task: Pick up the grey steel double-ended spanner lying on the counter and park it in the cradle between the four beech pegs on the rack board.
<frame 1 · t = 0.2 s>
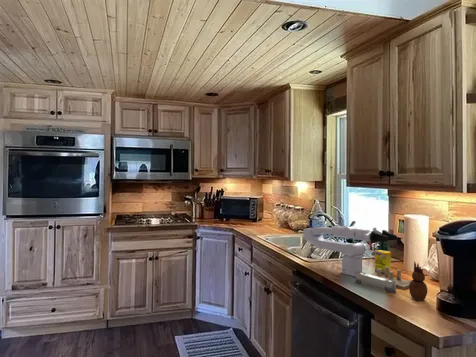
hand: (392, 238, 161), 21 cm above the worktop, tool horizontal, fingers open, 7 cm apart
rack: (388, 281, 165), on the worktop
spanner: (374, 286, 157), on the worktop
wooden figurine: (417, 299, 142), on the worktop
supplement box: (382, 272, 182), on the worktop
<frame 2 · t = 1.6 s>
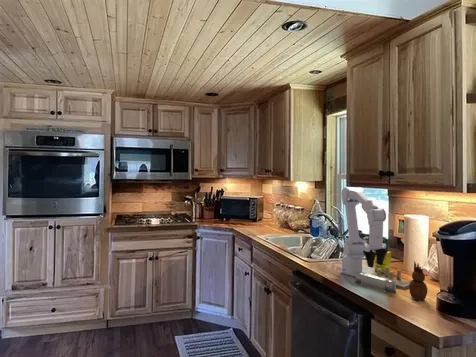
hand: (375, 265, 157), 9 cm above the worktop, tool pointing down, fingers open, 7 cm apart
nothing on the worktop moved.
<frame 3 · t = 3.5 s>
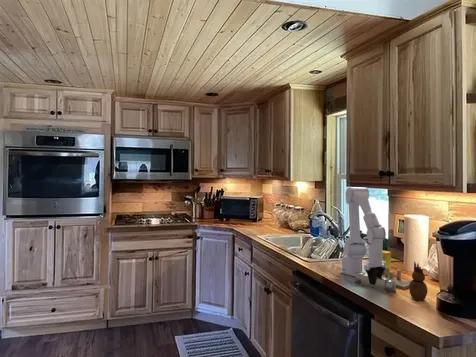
hand: (374, 283, 157), 1 cm above the worktop, tool pointing down, fingers closed on spanner, 3 cm apart
spanner: (374, 286, 157), on the worktop, touching gripper
everything else where it was.
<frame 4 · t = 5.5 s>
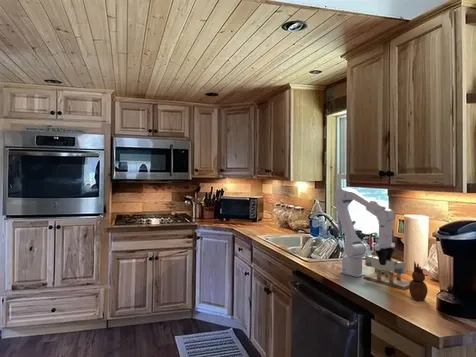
hand: (384, 264, 163), 9 cm above the worktop, tool pointing down, fingers closed on spanner, 3 cm apart
spanner: (384, 268, 163), point 7 cm above the worktop, touching gripper
everything else where it was.
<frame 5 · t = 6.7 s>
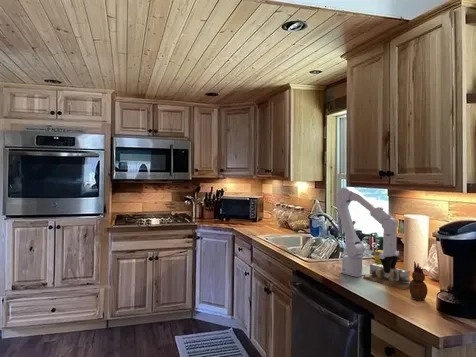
hand: (389, 272, 165), 4 cm above the worktop, tool pointing down, fingers closed on spanner, 3 cm apart
spanner: (388, 277, 165), point 2 cm above the worktop, touching gripper
everything else where it was.
when the fingers open (4 cm above the worktop, at t = 7.6 s): spanner stays where it is, resting on rack.
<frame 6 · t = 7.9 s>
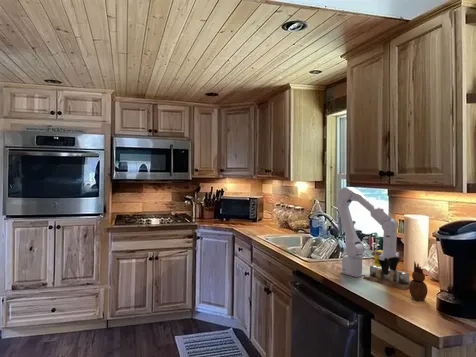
hand: (388, 273, 165), 4 cm above the worktop, tool pointing down, fingers open, 6 cm apart
spanner: (388, 279, 165), point 1 cm above the worktop, touching rack
everything else where it was.
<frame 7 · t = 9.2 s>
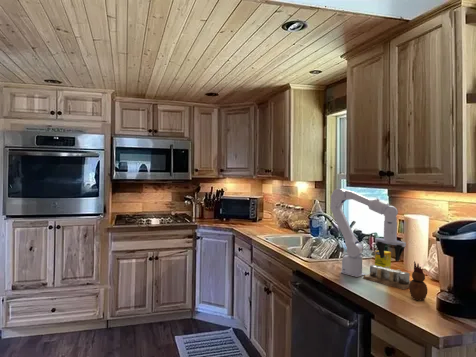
hand: (389, 259, 168), 10 cm above the worktop, tool pointing down, fingers open, 7 cm apart
nothing on the worktop moved.
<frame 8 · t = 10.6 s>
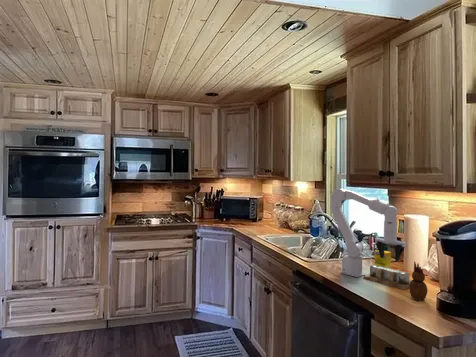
hand: (389, 259, 168), 10 cm above the worktop, tool pointing down, fingers open, 7 cm apart
nothing on the worktop moved.
at the end: spanner 0.0 cm off-centre on the rack, point 1.2 cm above the rack's base; spanner tilted 0°; the gripper is holding nothing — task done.
